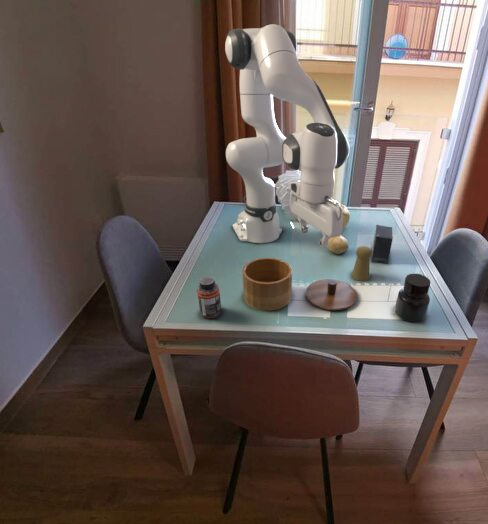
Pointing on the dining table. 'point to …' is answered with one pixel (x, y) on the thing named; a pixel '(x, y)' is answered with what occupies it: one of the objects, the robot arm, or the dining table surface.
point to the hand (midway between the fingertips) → (313, 238)
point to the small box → (382, 244)
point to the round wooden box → (267, 283)
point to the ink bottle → (413, 298)
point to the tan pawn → (362, 264)
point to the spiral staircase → (286, 190)
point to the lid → (331, 294)
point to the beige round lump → (345, 215)
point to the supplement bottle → (209, 298)
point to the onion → (337, 245)
